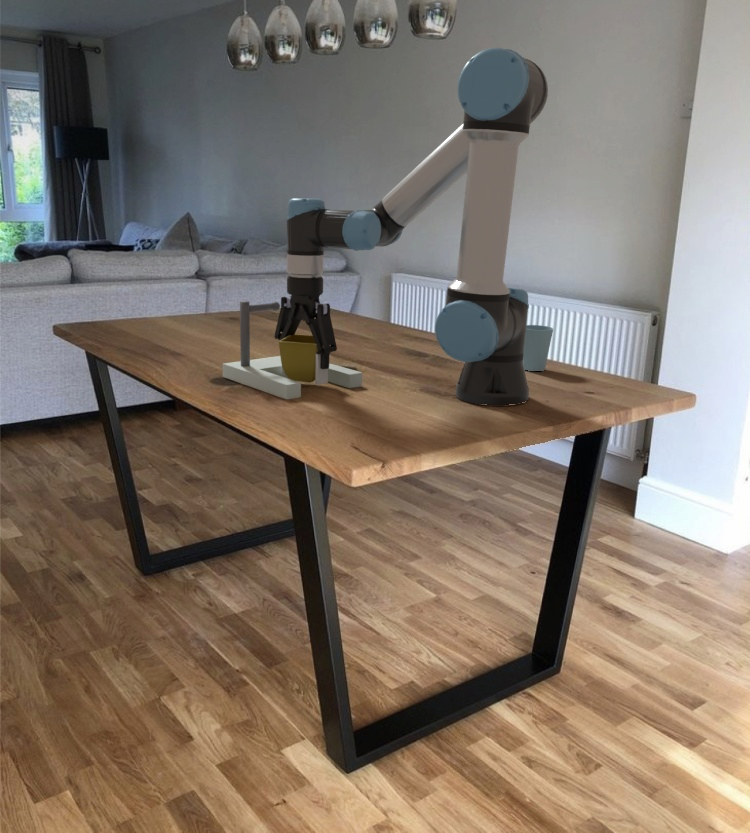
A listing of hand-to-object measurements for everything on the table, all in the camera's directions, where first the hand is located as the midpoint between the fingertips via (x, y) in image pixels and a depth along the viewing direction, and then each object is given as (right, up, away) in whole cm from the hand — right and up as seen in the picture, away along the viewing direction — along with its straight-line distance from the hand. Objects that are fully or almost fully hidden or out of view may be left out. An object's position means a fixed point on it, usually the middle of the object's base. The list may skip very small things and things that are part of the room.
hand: (304, 378), depth 172 cm
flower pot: (0, -1, 0) cm, 1 cm away
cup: (+54, +3, +24) cm, 59 cm away
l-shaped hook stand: (-3, -1, +4) cm, 5 cm away
